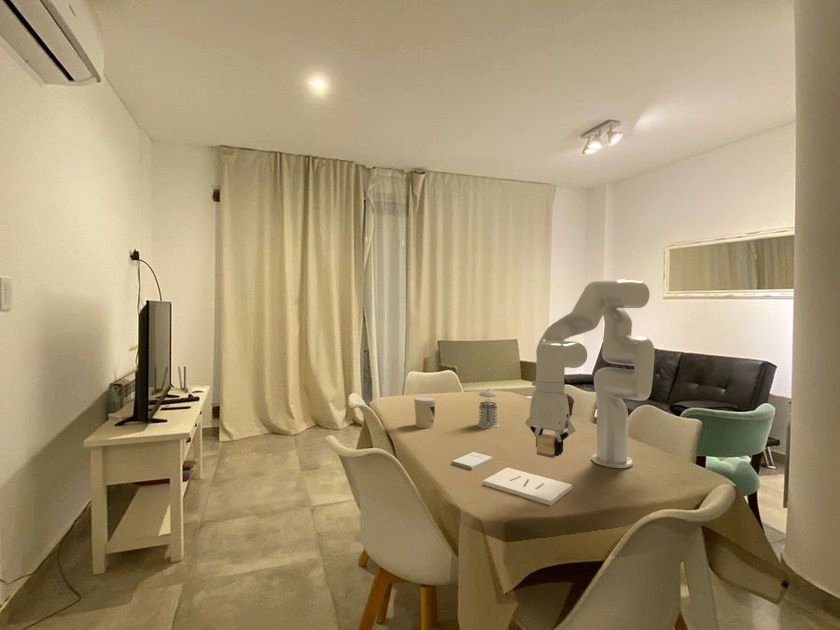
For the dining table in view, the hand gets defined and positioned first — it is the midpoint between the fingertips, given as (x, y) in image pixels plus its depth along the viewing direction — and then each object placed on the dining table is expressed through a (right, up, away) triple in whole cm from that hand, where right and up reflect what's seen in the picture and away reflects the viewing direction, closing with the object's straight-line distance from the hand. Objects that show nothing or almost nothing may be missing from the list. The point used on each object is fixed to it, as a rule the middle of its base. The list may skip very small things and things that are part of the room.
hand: (549, 452), depth 123 cm
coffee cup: (-34, -11, +71) cm, 79 cm away
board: (-5, -12, +5) cm, 14 cm away
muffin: (+33, -10, +91) cm, 98 cm away
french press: (-6, -11, +71) cm, 72 cm away
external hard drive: (-18, -12, +26) cm, 34 cm away
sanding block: (0, 0, 0) cm, 0 cm away
